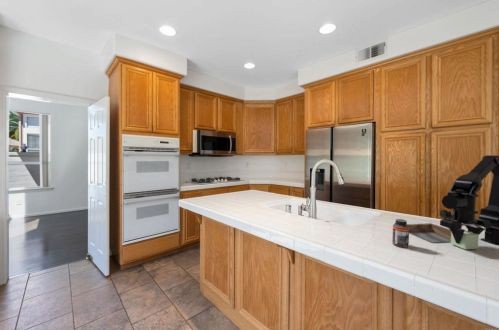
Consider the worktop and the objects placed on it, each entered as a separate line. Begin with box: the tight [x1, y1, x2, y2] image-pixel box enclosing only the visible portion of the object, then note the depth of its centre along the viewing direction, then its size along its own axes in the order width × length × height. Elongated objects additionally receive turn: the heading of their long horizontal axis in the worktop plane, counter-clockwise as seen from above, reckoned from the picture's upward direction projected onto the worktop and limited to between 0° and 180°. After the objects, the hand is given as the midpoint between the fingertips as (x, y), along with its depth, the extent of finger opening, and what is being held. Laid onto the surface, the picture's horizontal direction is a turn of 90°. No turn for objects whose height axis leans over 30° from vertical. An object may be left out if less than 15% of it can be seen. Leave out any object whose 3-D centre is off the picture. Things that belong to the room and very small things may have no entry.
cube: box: [450, 230, 480, 250], centre depth 95 cm, size 6×6×6 cm
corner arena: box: [406, 222, 451, 244], centre depth 107 cm, size 14×14×4 cm
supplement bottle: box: [392, 218, 410, 248], centre depth 96 cm, size 6×6×11 cm
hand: (463, 242), depth 95 cm, fingers closed on cube, 6 cm apart
